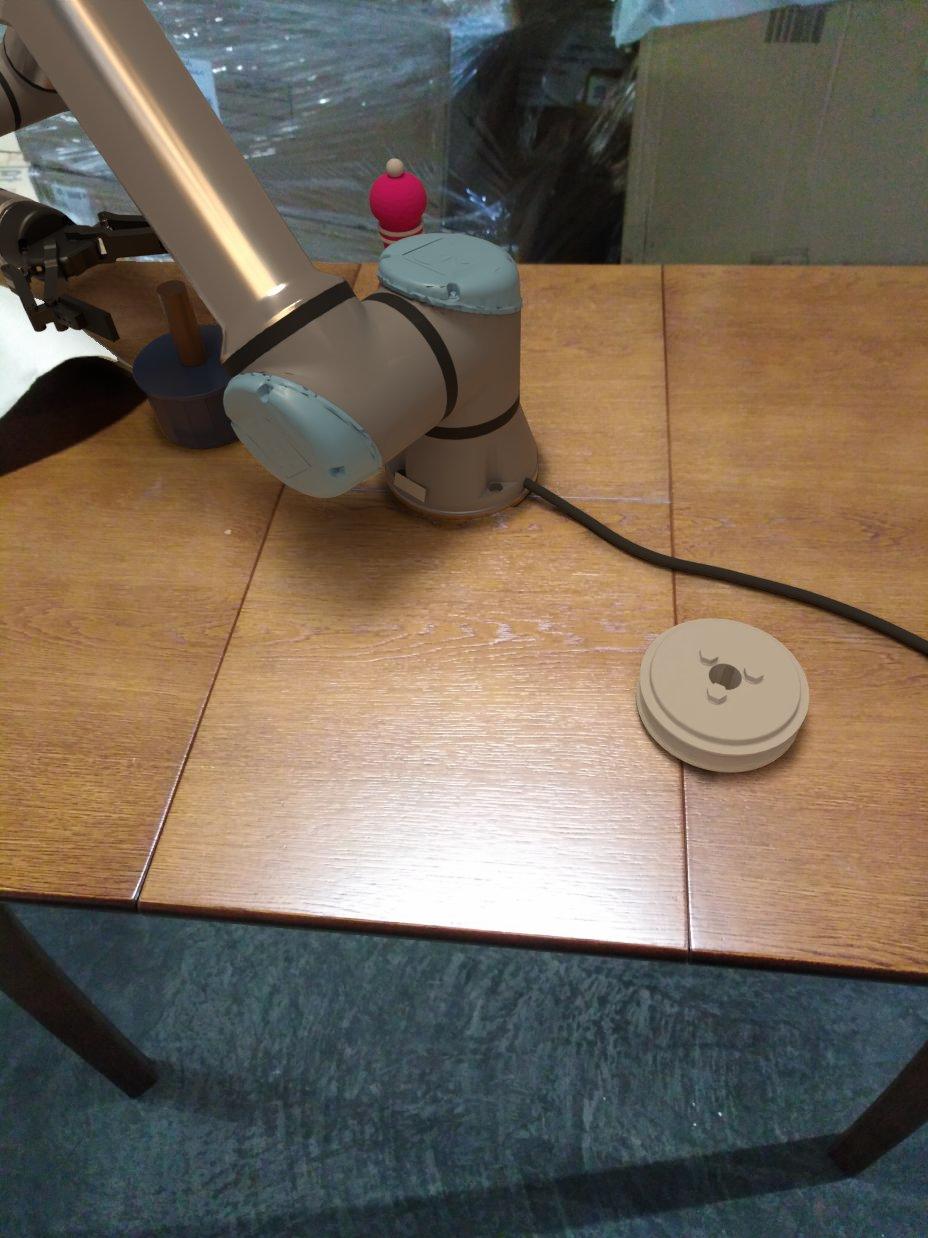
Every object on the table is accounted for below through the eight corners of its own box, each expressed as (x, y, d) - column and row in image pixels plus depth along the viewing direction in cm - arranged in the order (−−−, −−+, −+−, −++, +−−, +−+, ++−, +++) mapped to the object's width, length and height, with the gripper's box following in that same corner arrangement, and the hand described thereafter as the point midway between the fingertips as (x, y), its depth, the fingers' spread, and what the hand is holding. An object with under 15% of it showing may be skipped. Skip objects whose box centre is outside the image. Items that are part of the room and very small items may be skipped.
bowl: (280, 389, 100) (268, 338, 95) (239, 455, 93) (223, 404, 88) (188, 377, 102) (171, 326, 97) (140, 441, 95) (120, 390, 90)
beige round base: (670, 623, 77) (679, 585, 73) (818, 681, 72) (835, 644, 68) (608, 735, 70) (614, 699, 66) (767, 806, 65) (783, 772, 62)
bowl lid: (276, 340, 95) (257, 259, 88) (227, 414, 88) (202, 331, 81) (170, 327, 98) (142, 248, 91) (113, 398, 90) (79, 317, 83)
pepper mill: (371, 344, 104) (345, 170, 89) (396, 311, 109) (377, 139, 93) (427, 356, 103) (411, 179, 87) (451, 321, 107) (440, 147, 91)
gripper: (128, 220, 104) (261, 270, 96) (-56, 325, 92) (79, 392, 84) (105, 154, 98) (245, 200, 90) (-94, 256, 86) (47, 321, 78)
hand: (166, 293), depth 87 cm, fingers open, 13 cm apart
